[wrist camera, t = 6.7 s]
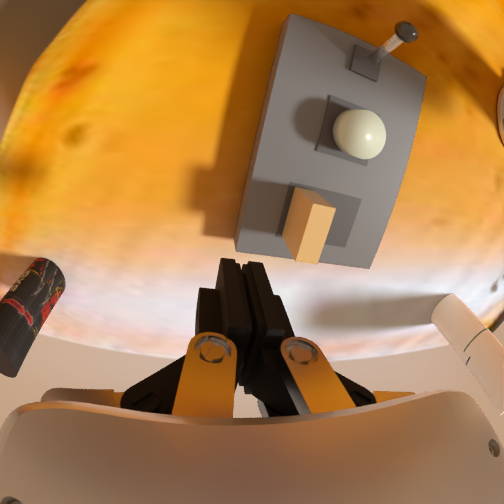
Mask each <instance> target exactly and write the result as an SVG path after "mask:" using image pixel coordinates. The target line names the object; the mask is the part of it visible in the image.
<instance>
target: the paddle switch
mask: <svg viewBox="0 0 504 504" xmlns="http://www.w3.org/2000/svg"><path fill="white" fill-rule="evenodd" d="M335 210H336V208H335V207H334V206H332V205H331V204H330V203H329V202H328V201H326V200H325V199H324V198H323V197H321V196H320V195H319V194H318V193H316V192H315V191H312V190H308V189H303V188H298V187H295V189H294V193H293V196H292V200H291V204H290V208H289V211H288V215H287V219H286V222H285V226H284V229H283V233H282V237H283V239H284V241H285V243H286V245H287V247H288V249H289V250H290V252H291V254H292V256H293V258H294V260H295V261H296V262H304V263H312V264H318V261H319V258H320V255H321V252H322V249H323V247H324V244H325V241H326V238H327V235H328V232H329V229H330V226H331V223H332V220H333V217H334V213H335Z"/></svg>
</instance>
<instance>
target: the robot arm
mask: <svg viewBox="0 0 504 504" xmlns="http://www.w3.org/2000/svg"><path fill="white" fill-rule="evenodd" d="M497 119H498V126H499V132H500V135H501V139H502V141H503V144H504V87H503V88H502V89H501V91H500V93H499V97H498V104H497ZM238 383H239V386H244V392H245V394H252V395H253V396H255V397H256V398H258V401H257V403H258V407H259V410H260V413H261V415H262V418H233V406H234V393H235V390H236V387H237V384H238ZM0 504H504V448H503V446H502V444H501V442H500V440H499V438H498V436H497V434H496V433H495V431H494V429H493V427H492V426H491V424H490V422H489V420H488V419H487V417H486V416H485V414H484V413H483V411H482V410H481V408H480V407H479V405H478V404H477V403H476V402H475V400H474V399H473V398H472V397H471V396H470V395H468V394H466V393H464V392H461V391H454V390H435V391H427V392H423V393H419V394H415V393H413V392H388V391H373V392H372V393H371V392H370V391H369V390H367V389H366V388H364V387H362V386H360V385H358V384H357V383H355V382H353V381H351V380H349V379H348V378H346V377H344V376H342V375H341V374H339V373H337V372H335V371H334V370H333V369H332V367H331V365H330V364H329V362H328V361H327V359H326V357H325V356H324V354H323V353H322V351H321V349H320V348H319V347H318V346H317V345H316V344H315V343H314V342H312V341H310V340H308V339H306V338H302V337H295V335H294V332H293V330H292V327H291V324H290V321H289V319H288V316H287V313H286V311H285V308H284V305H283V303H282V300H281V298H280V296H278V295H274V294H273V291H272V288H271V286H270V283H269V280H268V277H267V274H266V271H265V268H264V265H263V263H260V262H252V261H249V262H248V264H243V266H242V270H241V267H240V264H239V263H236V262H235V259H227V258H221V260H220V265H219V270H218V276H217V282H216V287H215V289H209V288H199V293H198V301H197V309H196V323H195V336H194V337H193V338H192V339H191V341H190V343H189V345H188V349H187V353H186V355H184V356H183V357H181V358H179V359H178V360H176V361H174V362H173V363H171V364H170V365H168V366H166V367H165V368H163V369H161V370H160V371H158V372H156V373H154V374H153V375H151V376H149V377H147V378H146V379H144V380H142V381H140V382H139V383H137V384H135V385H134V386H132V387H130V388H129V389H127V390H126V391H125V392H119V393H118V392H114V390H113V389H110V390H109V389H106V390H105V389H103V390H101V389H100V390H99V389H71V388H52V389H50V390H48V391H46V393H45V394H44V395H43V396H42V398H41V402H34V403H29V404H25V405H22V406H20V407H18V408H16V409H15V410H14V411H12V412H11V413H10V414H9V416H8V417H7V418H6V420H5V422H4V423H3V425H2V427H1V429H0Z"/></svg>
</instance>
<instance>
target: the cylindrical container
mask: <svg viewBox="0 0 504 504" xmlns="http://www.w3.org/2000/svg"><path fill="white" fill-rule="evenodd" d="M431 321H432V322H433V324H434V325H435V326H436V327H437V329H438V330H439V331H440V332H441V333H442V335H443V336H444V337H445V338H446V340H447V341H448V342H449V344H450V345H451V346H452V347H453V349H454V350H455V351H456V353H457V354H458V355H459V356H460V358H461V359H462V360H463V362H464V363H465V365H466V366H467V367H468V369H469V370H470V371H471V373H472V374H473V376H474V377H475V378H476V380H477V381H478V383H479V384H480V385H481V387H482V388H483V390H484V391H485V393H486V394H487V396H488V398H489V399H490V401H491V402H492V404H493V405H494V407H495V408H496V410H497V411H498V413H499V415H502V414H503V413H504V347H503V345H502V344H501V343H500V342H499V341H498V340H497V338H496V337H495V336H494V335H493V334H492V333H491V332H490V330H488V328H487V327H486V326H485V325H484V324H483V323H482V322H481V320H480V319H479V318H478V317H477V316H476V315H475V314H474V313H473V312H472V311H471V310H470V309H469V308H468V307H467V306H466V305H465V304H464V303H463V302H462V301H461V300H460V299H459V298H458V297H457V296H456V295H455V294H449V295H447V296H445V297H444V298H443V299H442V300H441V301H440V302H439V303H438V304H437V306H436V307H435V309H434V310H433V313H432V315H431Z"/></svg>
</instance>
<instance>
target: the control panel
mask: <svg viewBox="0 0 504 504" xmlns="http://www.w3.org/2000/svg"><path fill="white" fill-rule="evenodd" d="M376 49H377V47H375V46H373V45H371V44H369V43H367V42H365V41H363V40H361V39H359V38H357V37H354V36H352V35H350V34H348V33H345V32H343V31H341V30H338V29H336V28H333V27H331V26H328V25H325V24H323V23H320V22H317V21H314V20H311V19H308V18H305V17H302V16H299V15H296V14H292V13H291V14H290V15H289V16H288V18H287V19H286V20H285V21H284V22H283V26H282V30H281V34H280V37H279V41H278V45H277V49H276V53H275V57H274V61H273V66H272V70H271V74H270V78H269V82H268V86H267V90H266V95H265V99H264V103H263V107H262V112H261V116H260V120H259V125H258V129H257V133H256V138H255V142H254V147H253V151H252V156H251V160H250V165H249V169H248V174H247V178H246V183H245V188H244V192H243V197H242V202H241V206H240V211H239V216H238V221H237V226H236V230H235V235H234V243H235V249H236V252H242V253H250V254H258V255H265V256H273V257H281V258H289V259H294V258H293V256H292V254H291V252H290V250H289V249H288V247H287V245H286V243H285V241H284V239H283V237H282V233H283V229H284V226H285V222H286V219H287V215H288V211H289V208H290V204H291V200H292V196H293V193H294V189H295V187H298V188H303V189H308V190H312V191H315V192H316V193H318V194H319V195H320V196H321V197H323V198H324V199H325V200H326V201H328V202H329V203H330V204H331V205H332V206H334V207H335V208H336V210H335V213H334V217H333V220H332V223H331V226H330V229H329V232H328V235H327V238H326V241H325V244H324V247H323V249H322V252H321V255H320V258H319V261H318V262H319V263H327V264H335V265H343V266H350V267H358V268H366V269H370V266H371V264H372V262H373V259H374V257H375V255H376V252H377V250H378V247H379V245H380V242H381V240H382V237H383V235H384V232H385V229H386V227H387V224H388V221H389V219H390V216H391V213H392V210H393V207H394V204H395V201H396V198H397V195H398V192H399V189H400V186H401V183H402V180H403V177H404V173H405V170H406V167H407V163H408V160H409V156H410V152H411V149H412V145H413V141H414V137H415V133H416V129H417V124H418V120H419V115H420V111H421V106H422V101H423V95H424V90H425V84H426V78H427V77H426V76H425V75H423V74H422V73H420V72H419V71H417V70H416V69H414V68H413V67H411V66H409V65H408V64H406V63H404V62H403V61H401V60H399V59H398V58H396V57H394V56H392V55H390V54H388V55H387V56H385V57H384V58H383V59H382V60H380V61H379V62H378V63H377V64H374V63H372V62H371V61H370V60H369V58H368V56H369V55H370V54H372V53H373V52H374V51H375V50H376ZM350 109H362V110H369V111H372V112H374V113H375V114H377V115H378V116H379V117H380V119H381V120H382V122H383V124H384V126H385V130H386V141H385V145H384V147H383V149H382V151H381V152H380V153H379V154H378V155H377V156H375V157H373V158H371V159H360V158H357V157H354V156H351V155H349V154H346V153H344V152H343V151H342V150H341V149H340V148H339V147H338V146H337V144H336V142H335V140H334V136H333V126H334V123H335V120H336V119H337V117H338V116H339V115H340V114H341V113H342V112H344V111H346V110H350Z"/></svg>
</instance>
